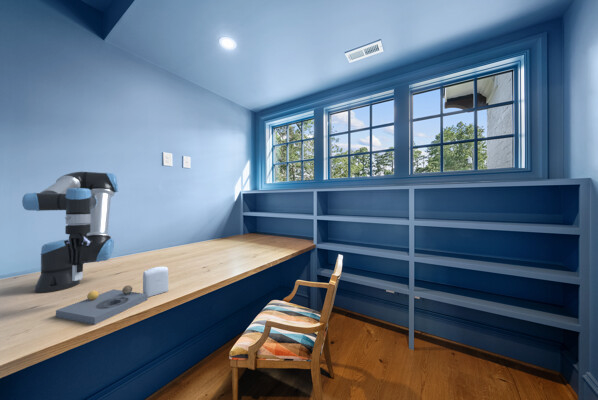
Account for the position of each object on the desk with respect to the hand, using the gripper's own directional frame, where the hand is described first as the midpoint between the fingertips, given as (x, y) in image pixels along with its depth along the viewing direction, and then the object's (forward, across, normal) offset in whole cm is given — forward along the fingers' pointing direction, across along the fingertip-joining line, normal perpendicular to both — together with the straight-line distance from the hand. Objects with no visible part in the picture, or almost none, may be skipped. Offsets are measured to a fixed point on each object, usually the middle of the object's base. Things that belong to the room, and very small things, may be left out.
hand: (77, 279), depth 92 cm
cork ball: (+6, +17, +8) cm, 19 cm away
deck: (+10, +16, 0) cm, 19 cm away
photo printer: (+10, +24, +16) cm, 31 cm away
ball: (+6, +9, 0) cm, 10 cm away
